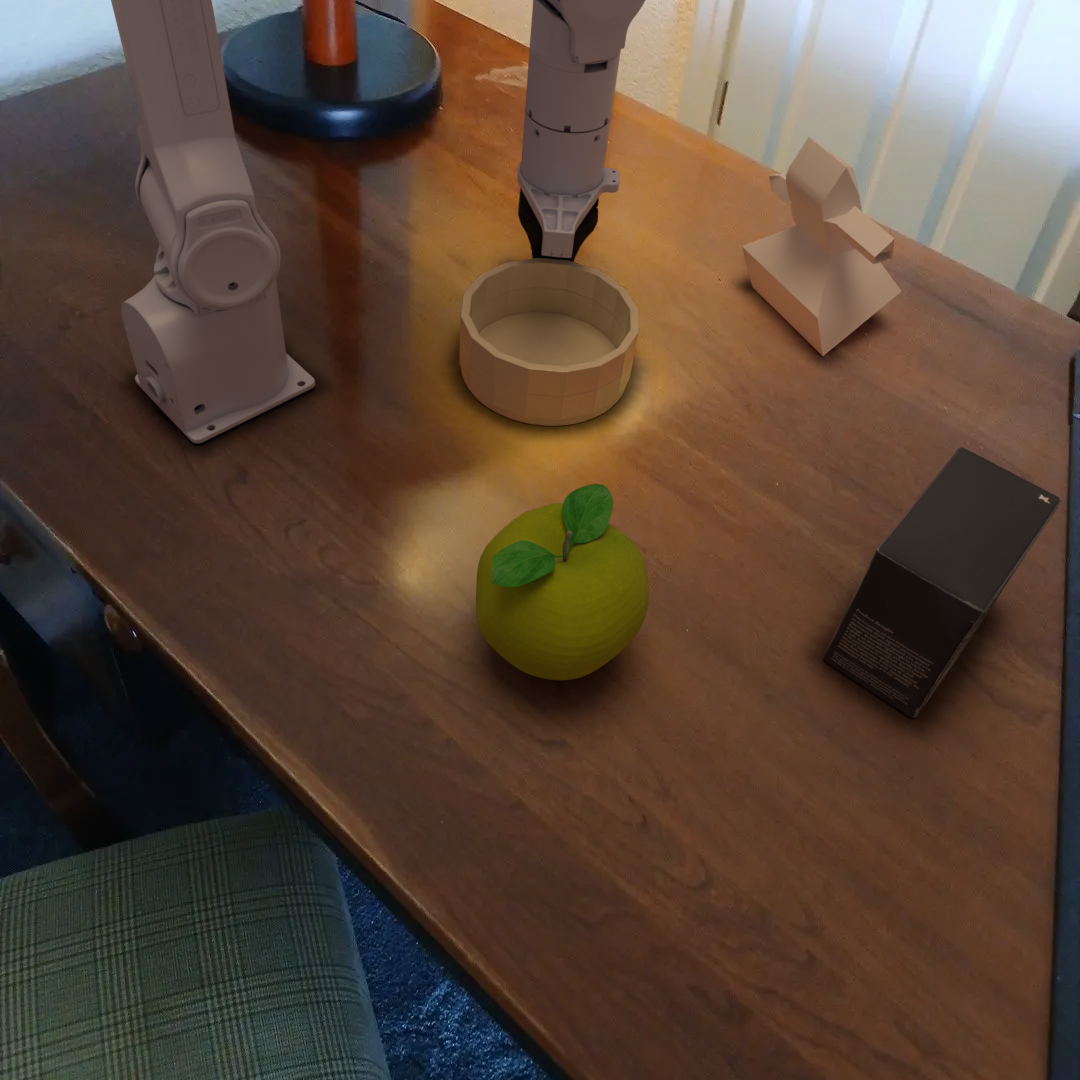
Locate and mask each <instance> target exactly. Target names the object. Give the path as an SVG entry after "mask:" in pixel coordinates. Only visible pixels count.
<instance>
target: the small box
mask: <svg viewBox="0 0 1080 1080" xmlns="http://www.w3.org/2000/svg"><path fill="white" fill-rule="evenodd" d="M1061 503H1062V498H1061V497H1060V496H1059V495H1057V494H1055V493H1052V492H1050V491H1048V489H1045V488H1043V487H1041V486H1039V485H1037V484H1035V483H1033V482H1031V481H1029V480H1027V479H1026V478H1024V477H1022V476H1020V475H1018V474H1016V473H1014V472H1012V471H1010V470H1008V469H1006V468H1005V467H1002V466H1000V465H998V464H996V463H995V462H993V461H991V460H989V459H987V458H986V457H983V456H982V455H979V454H977V453H975V452H974V451H972V450H970V449H968V448H966V447H964V446H960V447H959V448H958V449H956V451H955V452H954V453H953V454H952V456H951V457H950V458H949V460H947V462H946V463H945V465H944V466H943V467H942V468H941V470H940V471H939V472H938V473H937V475H936V476H935V477H934V478H933V479H932V481H931V482H930V483H929V484H928V486H927V487H926V488H925V490H924V491H923V492H922V493H921V495H920V496H919V497H918V498H917V499H916V501H915V502H914V503H913V504H912V506H910V508H909V509H908V510H907V512H906V513H905V514H904V515H903V516H902V517H901V519H900V520H899V521H898V523H897V524H896V525H895V526H894V527H893V528H892V529H891V530H890V532H889V533H888V535H886V536H885V538H884V539H883V541H881V543H880V545H878V547H877V548H876V550H875V552H874V554H873V556H872V558H871V560H870V562H869V563H868V566H867V567H866V569H865V571H864V574H863V575H862V577H861V579H860V581H859V583H858V585H857V588H856V589H855V592H854V594H853V595H852V598H851V600H850V601H849V603H848V605H847V608H846V609H845V611H844V614H843V615H842V618H841V620H840V621H839V623H838V624H837V625H838V626H837V628H836V630H835V631H834V634H833V636H832V638H831V640H830V642H829V644H828V646H827V648H826V651H825V652H824V655H823V658H822V660H823V661H824V662H825V663H827V664H828V665H830V666H832V667H833V668H834V669H836V670H837V671H839V672H840V673H842V674H843V675H845V676H846V677H848V678H849V679H851V680H852V681H854V682H856V683H857V684H858V685H860V686H862V687H863V688H865V689H866V690H867V691H870V693H873V694H874V695H875V696H877V697H878V698H880V699H881V700H883V701H884V702H886V703H887V704H889V705H890V706H892V707H893V708H895V709H897V710H898V711H899V712H901V713H902V714H905V716H907V717H909V718H912V719H915V718H917V717H918V716H919V714H920V713H921V712H922V710H923V708H924V707H925V706H926V705H927V703H928V701H929V700H930V699H931V697H932V696H933V694H934V693H935V691H936V690H937V688H938V687H939V686H940V684H941V683H942V682H943V681H944V679H945V677H946V676H947V674H948V672H949V671H950V670H951V669H952V667H953V665H954V664H955V663H956V662H957V660H958V658H959V657H960V656H961V654H962V653H963V652H964V651H965V649H966V647H967V646H968V644H970V642H971V641H972V638H973V637H974V636H975V635H976V634H977V632H978V630H979V627H980V626H981V625H982V624H983V621H984V620H985V618H986V617H987V616H988V614H989V612H990V611H991V610H992V608H993V606H994V605H995V603H996V602H997V600H998V598H999V597H1000V595H1001V594H1002V592H1003V590H1004V589H1005V587H1006V586H1007V584H1008V583H1009V582H1010V580H1011V578H1012V577H1013V576H1014V574H1015V573H1016V572H1017V571H1016V570H1017V569H1018V568H1019V566H1020V565H1021V563H1022V561H1023V560H1024V558H1025V557H1026V556H1027V554H1028V552H1029V551H1030V549H1031V548H1032V547H1033V545H1034V543H1035V542H1036V541H1037V539H1038V537H1039V536H1040V534H1041V533H1042V531H1043V530H1044V529H1045V527H1046V525H1047V524H1048V523H1049V521H1050V520H1051V519H1052V517H1053V516H1054V514H1055V512H1056V511H1057V509H1059V506H1060V504H1061Z"/></svg>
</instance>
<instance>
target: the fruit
mask: <svg viewBox="0 0 1080 1080" xmlns="http://www.w3.org/2000/svg"><path fill="white" fill-rule="evenodd" d="M613 506H614V501H613V495H612V493H611V491H610V489H609V488H608V487H607V486H606V485H604V484H601V483H592V484H591V483H590V484H587V485H584V486H581V487H578V488H576V489H574V490H573V491H571V492H570V493H569V494H568V495H567V496H566V497H565V498H564V500H563V502H556V503H550V504H546V505H542V506H539V507H535V508H533V509H530V510H528V511H525V512H523V513H521V514H520V515H518V516H516V517H515V518H514V519H513V520H511V521H510V522H509V523H508V524H506V525H505V526H504V527H503V528H502V529H501V530H500V531H498V533H496V534H495V535H494V536H493V537H492V539H491V540H490V541H489V542H488V543H487V544H486V546H485V547H484V549H483V551H482V552H481V555H480V557H479V560H478V565H477V572H476V587H475V588H476V589H475V613H476V614H475V615H476V623H477V625H478V629H479V631H480V632H481V633H480V634H481V635H482V636H483V638H484V639H485V640H486V642H487V644H489V645H490V646H491V648H492V649H493V650H494V651H495V652H497V654H498V655H500V656H501V657H502V658H503V659H504V660H505V661H506V662H508V663H509V664H510V665H512V666H513V667H515V668H516V669H517V670H519V671H521V672H523V673H525V674H528V675H529V676H533V677H536V678H540V679H545V680H551V681H552V680H553V681H569V680H575V679H579V678H583V677H585V676H588V675H590V674H592V673H594V672H596V671H597V670H598V669H600V668H602V667H603V666H605V665H606V664H607V663H609V662H610V661H611V660H613V659H614V658H615V657H617V655H619V654H620V653H621V652H622V651H623V650H624V649H626V647H628V646H629V644H630V643H631V642H632V640H634V639H635V637H636V636H637V635H638V633H639V631H640V630H641V628H642V626H643V624H644V623H645V620H646V616H647V613H648V608H649V598H650V597H649V596H650V594H649V590H650V589H649V580H648V579H649V577H648V572H647V567H646V562H645V559H644V556H643V554H642V552H641V551H640V548H638V546H637V545H636V544H635V542H634V541H633V540H632V539H631V538H630V537H628V536H627V534H624V533H623V532H622V531H621V530H620V529H618V528H617V527H615V526H614V525H612V524H611V523H610V520H611V517H612V514H613Z"/></svg>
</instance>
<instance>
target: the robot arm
mask: <svg viewBox="0 0 1080 1080" xmlns="http://www.w3.org/2000/svg"><path fill="white" fill-rule="evenodd" d="M110 2H111V6H112V10H113V14H114V19H115V22H116V27H117V30H118V35H119V39H120V44H121V47H122V51H123V56H124V59H125V63H126V64H125V65H126V67H127V71H128V76H129V79H130V80H129V81H130V84H131V88H132V92H133V97H134V101H135V104H136V105H135V106H136V109H137V112H138V117H139V121H140V124H139V125H138V127H137V128H136V133H137V138H138V142H139V145H140V162H139V165H138V169H137V172H136V175H135V182H134V189H135V196H136V200H137V203H138V205H139V207H140V208H141V210H142V211H143V213H144V215H145V216H146V219H148V221H149V224H150V226H151V228H152V231H153V232H154V234H155V238H156V239H157V241H158V243H159V245H158V248H157V253H156V256H155V263H154V264H153V273H154V276H153V277H152V278H151V280H150V281H149V282H148V283H147V284H146V285H145V286H144V287H143V288H141V290H139V291H138V292H137V293H135V294H134V295H132V296H131V297H129V298H127V299H126V300H124V301H123V302H122V303H121V304H120V316H121V320H122V325H123V329H124V333H125V335H126V339H127V342H128V346H129V349H130V354H131V356H132V360H133V364H134V368H135V371H136V375H135V376H134V380H135V384H136V385H137V386H138V387H139V388H140V389H141V390H142V391H143V392H144V393H145V394H146V395H147V396H148V397H149V398H150V399H151V400H152V402H153V403H154V404H155V405H156V406H157V407H158V408H159V409H160V410H161V411H162V412H163V413H164V414H165V415H166V416H167V417H168V418H169V419H170V421H172V422H173V424H174V425H175V426H176V427H177V428H178V429H179V430H180V431H181V432H182V433H183V434H184V436H185V437H187V439H189V441H191V442H192V443H193V444H202V443H204V442H206V441H208V440H210V439H212V438H215V437H217V436H219V435H220V434H222V433H224V432H227V431H229V430H231V429H232V428H235V427H237V426H239V425H241V424H243V423H245V422H247V421H249V420H252V419H253V418H256V417H257V416H259V415H261V414H264V413H265V412H267V411H269V410H272V409H274V408H275V407H277V406H279V405H282V404H283V403H286V402H287V401H289V400H291V399H293V398H295V397H298V396H299V395H301V394H303V393H306V392H307V391H309V390H311V389H312V390H313V389H314V388H315V386H316V380H315V378H314V377H313V376H312V375H311V374H310V373H309V372H308V371H307V370H305V369H304V367H302V366H301V365H300V364H299V363H298V362H297V361H295V360H294V358H293V357H291V356H290V355H289V354H288V353H287V349H286V342H285V341H286V340H285V336H284V335H285V334H284V327H283V321H282V313H281V305H280V297H279V290H278V284H277V277H278V274H279V272H280V267H281V262H282V261H281V260H282V259H281V258H282V255H281V248H280V245H279V243H278V240H277V238H276V237H275V235H274V234H273V232H272V231H271V229H270V228H269V227H268V226H267V224H266V223H265V222H264V221H263V219H262V217H261V215H260V214H259V212H258V208H257V204H256V199H255V198H256V197H255V192H254V189H253V186H252V183H251V180H250V177H249V173H248V171H247V169H246V165H245V161H244V159H243V157H242V154H241V151H240V147H239V145H238V141H237V138H236V134H235V127H234V122H233V116H232V110H231V105H230V104H231V103H230V98H229V93H228V87H227V81H226V75H225V70H224V69H225V68H224V63H223V57H222V52H221V45H220V41H219V40H220V39H219V34H218V28H217V24H216V23H217V22H216V18H215V11H214V6H213V0H110ZM645 2H646V0H532V10H531V24H530V36H529V50H528V62H527V63H528V64H527V65H528V66H527V79H526V91H525V92H526V93H525V106H524V117H523V118H524V120H523V132H522V133H523V134H522V146H521V149H522V150H521V158H520V159H521V160H520V161H519V164H518V166H517V175H516V177H517V183H518V186H519V197H518V207H517V216H518V220H519V223H520V225H521V227H522V229H523V230H524V232H525V233H526V236H527V239H528V242H529V245H530V251H531V259H532V258H546V259H557V260H568V261H572V262H575V260H576V257H577V255H578V252H579V251H580V249H581V247H582V245H583V244H584V242H585V241H586V240H587V238H588V237H589V236H590V235H591V234H592V233H593V232H594V230H595V229H596V227H597V225H598V222H599V202H600V197H601V195H602V194H604V193H610V194H612V193H613V194H614V193H617V192H618V191H619V190H620V183H621V181H620V179H621V178H620V171H619V170H618V169H616V168H612V167H611V168H610V167H605V166H606V158H607V152H608V145H609V137H610V129H611V124H612V123H611V122H612V116H613V109H614V103H615V102H614V100H615V95H616V94H615V93H616V86H617V80H618V73H619V65H620V57H621V53H622V52H621V50H623V49H625V48H626V40H627V34H628V30H629V27H630V25H631V23H632V21H633V20H634V19H635V18H636V16H637V15H638V14H639V11H640V10H641V9H642V7H643V6H644V4H645Z"/></svg>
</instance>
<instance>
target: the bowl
mask: <svg viewBox="0 0 1080 1080" xmlns="http://www.w3.org/2000/svg"><path fill="white" fill-rule="evenodd" d="M639 317H640V316H639V308H638V306H637V305H636V302H634V300H633V299H632V297H631V295H630V294H629V292H628V291H627V289H626V288H625V287H624V286H623V285H621V284H619V283H618V282H617V281H616V280H614V279H612V278H611V277H610V276H608V275H607V274H606V273H604V272H603V271H601V270H598V269H595V268H593V267H589V266H586V265H584V264H581V263H578V262H575V261H574V262H572V261H568V260H557V259H546V258H532V257H531V258H525V259H519V260H513V261H507V262H504V263H502V264H499V265H497V266H495V267H492V268H491V269H489V270H487V271H485V272H483V273H480V274H479V275H478V276H477V277H476V279H474V281H473V282H472V283H471V284H470V286H468V288H467V289H466V290H465V291H464V293H463V296H462V303H461V311H460V325H459V360H458V361H459V362H458V363H459V366H460V373H461V376H462V380H463V382H464V383H465V385H466V387H467V389H468V390H469V391H470V392H471V395H473V396H474V398H475V399H477V400H478V401H479V402H480V403H481V404H483V405H484V406H485V407H487V408H488V409H489V410H491V411H493V412H494V413H496V414H498V415H501V416H503V417H505V418H507V419H510V420H513V421H516V422H520V423H524V424H527V425H535V426H543V427H544V426H546V427H559V426H568V425H575V424H580V423H583V422H587V421H589V420H592V419H595V418H597V417H600V416H601V415H603V414H604V413H606V412H607V411H609V410H611V408H613V407H614V406H615V404H617V403H618V401H619V400H620V399H621V398H622V397H623V395H624V393H625V391H626V389H627V386H628V383H629V381H630V379H631V375H632V369H633V364H634V359H635V355H636V354H635V352H636V348H637V343H638V339H639V333H640V324H639V323H640V318H639Z"/></svg>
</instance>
